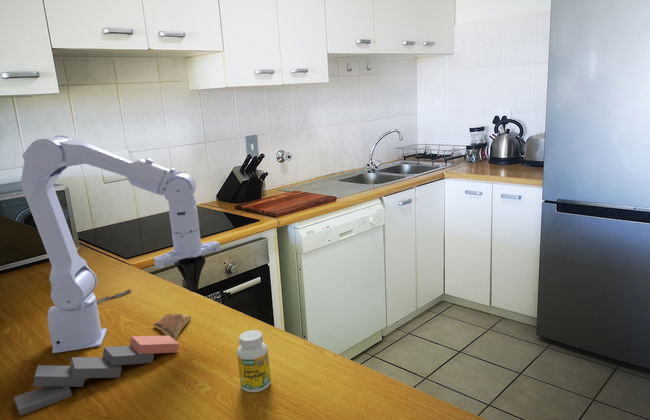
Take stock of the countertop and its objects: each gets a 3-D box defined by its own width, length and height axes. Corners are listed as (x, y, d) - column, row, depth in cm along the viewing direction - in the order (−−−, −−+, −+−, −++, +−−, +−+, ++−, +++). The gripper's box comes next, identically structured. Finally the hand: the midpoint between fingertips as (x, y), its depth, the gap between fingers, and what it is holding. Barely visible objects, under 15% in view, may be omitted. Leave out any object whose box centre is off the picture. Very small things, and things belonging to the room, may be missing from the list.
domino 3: (119, 377, 92) (72, 378, 88) (114, 366, 97) (69, 366, 92) (121, 368, 92) (74, 368, 88) (116, 357, 96) (71, 357, 92)
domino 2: (72, 399, 88) (20, 419, 83) (65, 387, 91) (16, 406, 87) (70, 390, 87) (18, 409, 82) (64, 378, 91) (14, 397, 86)
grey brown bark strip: (83, 304, 129) (87, 311, 125) (83, 300, 129) (86, 307, 125) (130, 291, 136) (135, 297, 132) (129, 287, 135) (134, 293, 131)
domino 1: (83, 386, 89) (32, 386, 86) (84, 375, 94) (36, 374, 91) (85, 377, 89) (34, 376, 86) (85, 366, 94) (37, 365, 90)
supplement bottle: (269, 374, 91) (264, 326, 89) (272, 390, 86) (268, 339, 84) (239, 379, 90) (234, 330, 88) (241, 395, 85) (236, 345, 83)
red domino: (177, 352, 101) (138, 354, 95) (167, 343, 104) (129, 345, 99) (179, 343, 101) (140, 344, 95) (169, 335, 104) (131, 336, 99)
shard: (175, 343, 105) (174, 335, 105) (141, 344, 106) (139, 336, 106) (193, 320, 116) (192, 313, 115) (161, 321, 117) (160, 313, 116)
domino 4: (152, 362, 97) (110, 365, 92) (142, 353, 101) (102, 356, 96) (154, 353, 97) (112, 356, 92) (144, 345, 101) (104, 347, 96)
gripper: (162, 241, 97) (171, 305, 100) (225, 225, 107) (231, 284, 110) (146, 235, 102) (155, 296, 105) (207, 220, 112) (214, 277, 115)
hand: (192, 290), depth 108 cm, fingers closed
